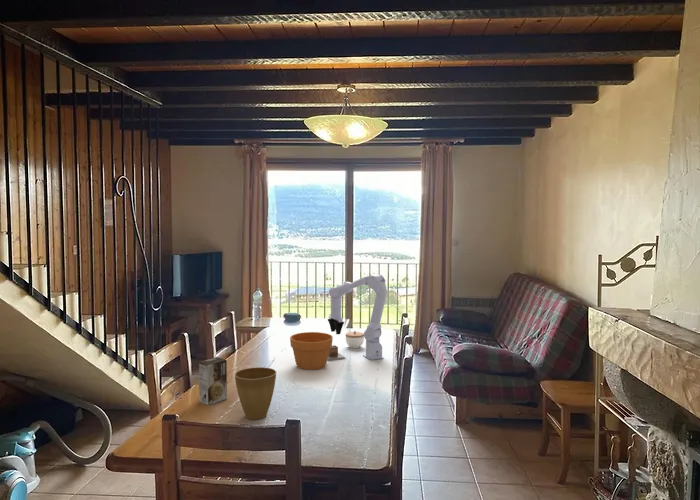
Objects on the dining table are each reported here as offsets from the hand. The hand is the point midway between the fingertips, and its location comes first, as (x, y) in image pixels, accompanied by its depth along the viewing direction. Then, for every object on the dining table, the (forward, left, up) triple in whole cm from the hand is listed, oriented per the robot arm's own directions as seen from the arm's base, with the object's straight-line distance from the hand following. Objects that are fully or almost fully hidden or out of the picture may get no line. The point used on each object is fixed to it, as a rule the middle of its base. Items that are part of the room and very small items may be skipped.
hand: (335, 332), depth 272 cm
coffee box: (-53, +74, -11) cm, 92 cm away
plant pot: (-75, +62, -11) cm, 98 cm away
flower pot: (-22, +22, -11) cm, 33 cm away
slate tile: (-11, +6, -10) cm, 16 cm away
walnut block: (-11, +6, -10) cm, 16 cm away
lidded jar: (+5, -14, -11) cm, 18 cm away
